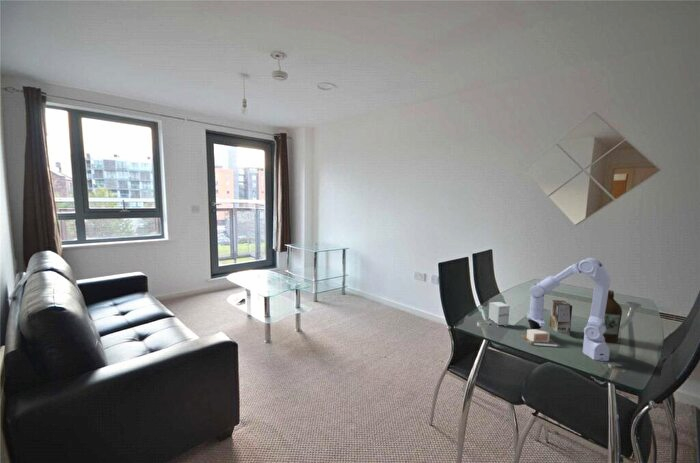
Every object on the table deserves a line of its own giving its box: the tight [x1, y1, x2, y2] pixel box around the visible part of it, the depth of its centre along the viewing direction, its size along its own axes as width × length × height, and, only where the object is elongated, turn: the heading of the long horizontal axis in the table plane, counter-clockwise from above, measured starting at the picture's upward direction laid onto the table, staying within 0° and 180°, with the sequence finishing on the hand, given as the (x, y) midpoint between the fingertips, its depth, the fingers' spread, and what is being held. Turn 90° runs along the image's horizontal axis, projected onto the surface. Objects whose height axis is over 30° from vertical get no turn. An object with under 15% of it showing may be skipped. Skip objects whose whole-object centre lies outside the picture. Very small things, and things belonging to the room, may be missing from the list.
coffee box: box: [549, 299, 573, 337], centre depth 161 cm, size 9×6×16 cm
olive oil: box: [603, 289, 623, 344], centre depth 154 cm, size 11×11×25 cm
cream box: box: [526, 328, 550, 342], centre depth 148 cm, size 5×8×4 cm, turn 96°
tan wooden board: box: [519, 333, 561, 348], centre depth 148 cm, size 12×13×2 cm
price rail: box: [530, 341, 561, 348], centre depth 143 cm, size 1×12×2 cm, turn 82°
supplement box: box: [488, 301, 510, 327], centre depth 169 cm, size 7×7×13 cm
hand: (534, 334), depth 153 cm, fingers closed
